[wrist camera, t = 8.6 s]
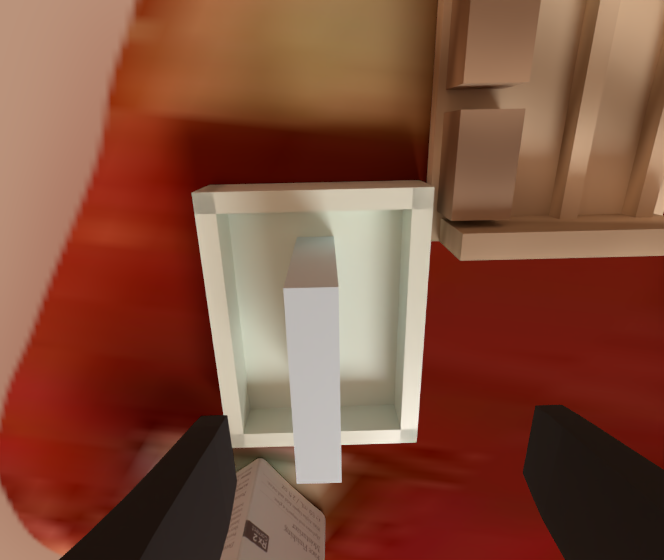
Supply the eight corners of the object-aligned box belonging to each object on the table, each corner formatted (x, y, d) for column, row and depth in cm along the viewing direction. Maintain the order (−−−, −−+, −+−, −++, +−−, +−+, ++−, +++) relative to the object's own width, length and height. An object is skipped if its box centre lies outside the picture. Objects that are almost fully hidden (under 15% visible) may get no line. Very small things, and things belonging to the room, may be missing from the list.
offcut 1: (503, 88, 15) (529, 82, 13) (445, 89, 15) (463, 83, 13) (518, -34, 13) (549, -61, 12) (454, -33, 13) (475, -60, 12)
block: (336, 382, 20) (341, 482, 14) (304, 383, 19) (296, 484, 14) (333, 236, 17) (338, 286, 11) (296, 237, 17) (283, 288, 11)
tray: (406, 409, 21) (416, 442, 19) (238, 414, 21) (228, 448, 19) (419, 179, 17) (434, 187, 14) (209, 184, 17) (191, 192, 14)
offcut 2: (488, 209, 16) (510, 219, 15) (436, 211, 16) (451, 220, 14) (500, 111, 15) (525, 108, 13) (444, 112, 15) (461, 109, 13)
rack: (642, 231, 18) (717, 254, 14) (423, 236, 18) (446, 261, 14) (723, -73, 14) (851, -139, 10) (442, -68, 14) (481, -134, 10)
